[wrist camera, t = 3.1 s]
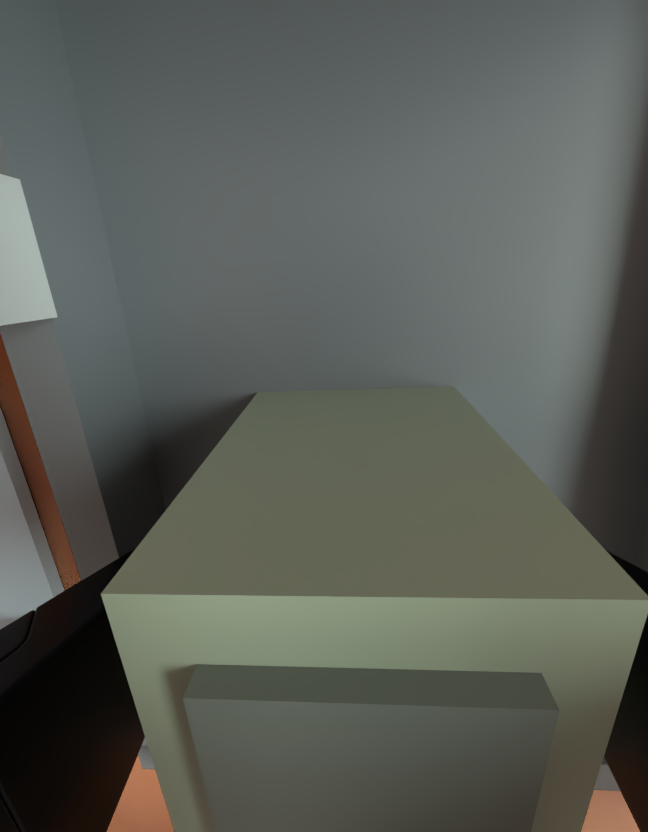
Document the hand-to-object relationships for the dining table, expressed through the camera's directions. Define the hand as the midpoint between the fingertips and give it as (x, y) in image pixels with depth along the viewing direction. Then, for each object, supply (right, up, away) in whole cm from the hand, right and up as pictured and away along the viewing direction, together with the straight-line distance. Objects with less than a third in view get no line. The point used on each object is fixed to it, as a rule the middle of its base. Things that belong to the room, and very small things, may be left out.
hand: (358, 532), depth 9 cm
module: (0, 0, +1) cm, 1 cm away
